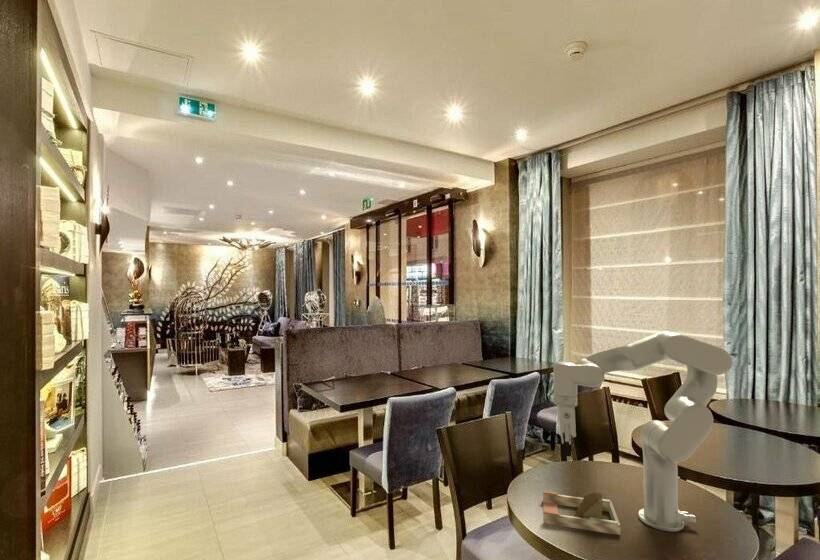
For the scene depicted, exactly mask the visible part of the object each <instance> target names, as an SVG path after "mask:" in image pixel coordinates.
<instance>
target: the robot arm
mask: <svg viewBox="0 0 820 560" xmlns="http://www.w3.org/2000/svg"><path fill="white" fill-rule="evenodd" d="M664 360H671V361H674V362H677V363H680V364H682V365H684V366H686V367H687V368H686V369H687V372H686V373H687V374H686V376H685V379H684V381H683V382H682V384H681V385H680V387H679V388H678V389H677V390H676V391H675V393H674V394H673V395H672V396H671V397H670V399H669V400H668V401H667V402H666V404H665V406H664V408H663V409H664V410H663V411H664V415H665V417H666V418H667V419H668V420H669V421H671V423H670V424H668V423H666V422H664V421H661V420H659V419H657V420H656V419H653V420H649V421H647V422H645V423H644V424H643V426H642V427H641V430H640V443H641V448H642V449H641V450H642V460H643V461H642V462H643V470H642V471H643V472H642V473H643V474H642V475H643V476H642V477H643V479H642V480H643V487H642V488H643V508H641V509H639V510H638V515H637V516H638V519H639V520H640V521H641V522H643V523H644V524H645V525H647V526H648V527H650V528H651V527H652V528H653V529H657V530H659V531H662V532H663V531H665V532H670V533H671V532H673V533H674V532H679V531H680V532H681V530H683V529H684V528H685V521H687V522H690V523H696V522H697V517H696V516H695V515H694V514H689V512H688V511H684V510H680V509H679V504H678V503H679V497H678V494H679V493H678V491H679V489H678V488H679V487H678V484H679V482H678V481H679V479H678V476H679V474H678V473H679V472H678V471H679V470H678V464H680V463H683V462H684V461H686V460H688V459H689V458H690V457H691V456H692V455H693V453H695V451H696V450H697V449H698V448H699V446H700V445H701V444H702V443H703V441H705V439H706V438H707V437H708V435H710V433H711V431H712V429H713V427H714V416H713V414H712V413H713V412H712V411H711V410H710V409H709V408H708V406H707V405H708V404H709V403H710V401H711V400H712V399H713V397H714V396H715V394H716V392H717V389H718V376H721V375H725V374H727V373H728V372H729V371H730V370H731V368H732V366H733V358H732V356H731V355H730V354H729V352H728V351H727V350H725V349H724V348H722V347H719V346H716V345H713V344H709V343H707V342H704V341H701V340H698V339H695V338H694V337H693V338H692V337H690V336H687V335H684V334H681V333H678V332H672V331H659V332H656V333H653V334H651V335H648V336H645V337H643V338H641V339H639V340H635V341H633V342H631V343H628V344H625V345H621V346H617V347H614V348H611V349H606V350H604V351H603V350H602V351H599V352H595V353H594V354H591V355H588V356H585V357H584V358H583V357H582V358H581V359H579V360H577V361H576V362H575V363H574V362H571V361H557V362H554V363H553V366H552V367H553V371H552V373H553V375H552V376H553V404H554V405H555V406H556V407H557V425H558V426H557V427H558V432H559V436H560V441H561V442H560V455H561V456H562V457H570V458H571V457H572V438H575V439H576V437H577V432H576V409H575V408H576V407H577V406H578V405H579V404H578V386H582V387H587V388H588V387H589V388H595V387H599V386H601V385H602V384H603V382H604V380H605V378H606V377H605V374H608V373H611V372H618V371H621V372H623V371H625V372H633V371H638V370H641V369H645V368H646V367H648V366H651V365H654V364H657V363H660V362H663V361H664Z"/></svg>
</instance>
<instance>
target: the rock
mask: <svg viewBox="0 0 820 560" xmlns="http://www.w3.org/2000/svg"><path fill="white" fill-rule="evenodd" d="M582 498H583V501H582V503H581V505H580V507H579V508H578V507H577V509H576V511H575V512H574V513H575V514H574V516H573V517H580V518H587V519H590V517H591V518H598V519H603V517H604V516H603V511H602V507H603V501H602V499H603V496H602V494H601V493H600V492H591V493H588V494H586V495H583V497H582Z"/></svg>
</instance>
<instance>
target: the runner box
mask: <svg viewBox="0 0 820 560" xmlns="http://www.w3.org/2000/svg"><path fill="white" fill-rule="evenodd" d="M582 501H583V497H580V496H579V497H578V496H571V495H563V494H558V493H557V496H556V495H549V494H543V493H542V503H543V502H545V503H552V504H557V506H558V505H559V506H565V507H571V508H572V507H574V508H577V509H578V508H579V507H580V505H581V503H582ZM602 501H603V507H602V512H608V513H609V516H610V518H611V519H610V520H609V519H606V518H605V519H598V518H591V517H590V519H587V518H580V517H574V516H573V515H566V514H560V513H559V516H556V515H550V514H544V513H543V524H547V525H553V526H561V527H566V528H573V529H578V530H586V531H593V532H599V533H604V534H611V535H618V536H621V523H620V520H619V518H618V515H617V512H616V510H615V506H614V505H613V502H612V501H611V500H610V499H605V498H602Z"/></svg>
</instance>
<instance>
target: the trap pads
mask: <svg viewBox="0 0 820 560" xmlns="http://www.w3.org/2000/svg"><path fill="white" fill-rule="evenodd" d="M543 494H549V495H556V496H557V494H558V492H554V491H553V492H552V491H544V490H542V495H543ZM542 503H543V505H542V506H543V507H542V508H543V515H544V514H550V515H556V516H559V514H560V512H559V510H558V505H557V504H552V503H545V502H543V501H542Z"/></svg>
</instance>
